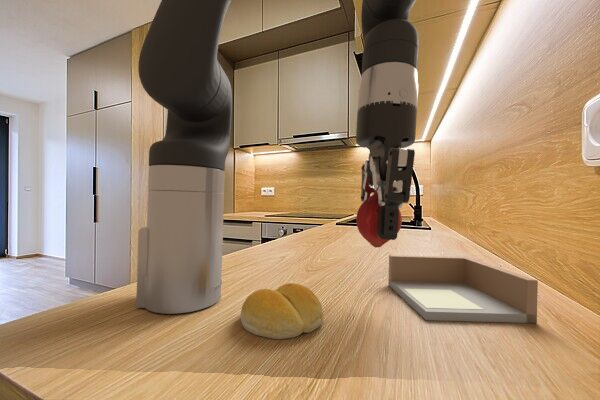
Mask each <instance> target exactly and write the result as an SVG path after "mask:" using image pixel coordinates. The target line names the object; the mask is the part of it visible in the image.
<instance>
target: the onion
mask: <svg viewBox="0 0 600 400" xmlns="http://www.w3.org/2000/svg"><path fill="white" fill-rule="evenodd" d="M379 208H383V207H380V206H379V199H378V192H377V191H375V193H373V195H372V196H370V197H369V198H367V199H366V200H365V201H364V202H362V203H361V205H360V206H359V208H358V210H357V212H356V219H355V220H356V222H355V223H356V227H357V230H358V233H359V234H360V235H361V236H362V238H363V239H365V241H367V242H368V243H369V244H370V245H371V246H372V247H374V248H381V247H382V246H384V245H385V244H387V243H388V242H389V241H390V240H386V239H380V238H379V237H378V236H377V229H378V213H379ZM398 209H399V216H398V233H399V231H400V230H401V228H402V223H403V215H402V211H401V208H398Z"/></svg>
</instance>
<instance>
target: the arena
mask: <svg viewBox="0 0 600 400" xmlns="http://www.w3.org/2000/svg"><path fill="white" fill-rule="evenodd" d="M387 279H388V284H387V285H388V287H390V288H391V289H392V290H393V291H394V292H395V293H397V295H398V296H400V297H401V298H402V299H403V300H404V301H405V302H406V303H407V304H408V305H409V306H410V307H411V308H412V309H414V311H416V312H417V313H418V314H419V315H420V316H421V317H422V319H424V320H425V321H443V322H444V321H445V322H478V323H479V322H480V323H481V322H482V323H512V324H513V323H514V324H517V323H519V324H537V322H538V321H537V320H538V294H539V293H538V285H539V284H538V283H539V282H538V281H539V280H537V279H534V278H532V277H529V276H526V275H522V274H520V273H517V272H513V271H510V270H507V269H505V268H502V267H498V266H495V265H492V264H489V263H487V262H483V261H481V260H477V259H474V258H472V257H468V256H445V255H444V256H441V255H408V254H406V255H404V254H389V255H388V278H387Z"/></svg>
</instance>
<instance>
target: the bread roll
mask: <svg viewBox="0 0 600 400" xmlns="http://www.w3.org/2000/svg"><path fill="white" fill-rule="evenodd" d="M240 310H241V311H240V316H239V317H240V322H241V325H242V326H243V328H244V329H245V330H246V331H247V332H249V333H251V334H253V335H255V336H259V337H264V338H267V339H268V338H269V339H273V340H276V339H277V340H286V339H291V338H296V337H298V336H300V335H301V334H302V333H303V334H304V333H305V334H306V333H312V332H313V331H314V330H316V329H318V328H319V327H320V326H321V325H322V324H323V322H324V319H325V317H324V312H323V307H322V304H321V302H320V299H319V298H318V296H317V295H316V294H315V293H314V291H312V290H311V289H310V288H308V287H307V286H304V285H303V284H298V283H290V282H289V283H284V284H282V285H280V286H279V287H277V288H276V289H268V288H261V289H258V290H255V291H253V292H252V293H251V294H249V295H248V296H247V298H246V299H245V300H244V302H243V304H242V306H241V309H240Z"/></svg>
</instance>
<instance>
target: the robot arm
mask: <svg viewBox="0 0 600 400" xmlns="http://www.w3.org/2000/svg"><path fill="white" fill-rule="evenodd" d="M232 1H233V0H161V1H160V3H159V5H158V7H157V10H156V12H155V14H154V18H153V19H152V21H151V23H150V26H149V28H148V30H147V33H146V35H145V38H144V41H143V43H142V46H141V49H140V53H139V57H138V58H139V59H138V66H137V67H138V68H137V69H138V71H137V72H138V77H139V80H140V83H141V85H142V88H143V89H144V91H145V92H146V93H147V95H148V96H149V97H150V98H151V99H152V100H153V101H155V102H156V103H157V104H158V105H160V106H161V107H163V108H165V109H166V110H167V114H166V126H165V127H166V128H165V135H164V137H163V138H162V140H159V141H155V142H153V143H152V144H151V145H150V147H149V150H148V167H147V168H148V172H147V174H148V176H147V204H146V205H147V206H146V208H147V209H146V226H145V227H141V228H139V230H138V235H137V237H138V239H137V240H138V241H137V243H138V244H137V266H136V267H137V268H136V269H137V270H136V271H137V272H136V299H135V302H136V303H135V308H141V309H146V310H147V311H150V312H152V313H156V314H157V313H158V314H167V315H170V314H171V315H172V314H173V315H174V314H183V313H184V314H186V313H191V312H195V311H200V310H203V309H206V308H208V307H211V306H213V305H215V304H217V303H218V302H219V301H220V299H221V298H222V297H221V296H222V286H223V285H222V284H223V283H222V281H223V280H222V273H223V272H222V271H223V247H224V246H223V240H224V238H223V237H224V211H225V209H224V208H225V207H224V205H225V179H226V178H225V170H226V159H227V156H228V154H229V150H230V145H231V131H232V118H233V117H232V115H233V91H232V90H233V89H232V86H231V85H232V84H231V82H230V79H229V77H228V75H227V73H225V70H224V69H223V67H222V65H221V63H220V62H219V60H218V50H219V42H220V38H221V33H222V30H223V24H224V21H225V18H226V14H227V11H228V9H229V6H230V4H231V2H232ZM415 2H417V0H362V3H361V12H360V13H361V14H360V16H361V17H360V19H361V32H362V40H363V50H362V51H363V52H362V64H361V77H360V78H361V79H360V83H359V84H360V85H359V90H358V96H357V97H358V99H357V100H358V101H357V116H356V128H355V129H356V131H355V143H356V144H357V146H359V147H361V148H365V149H368V150H369V153H368V159H365V162H364V163H363V164H362V166H361V186H360V187H361V188H360V192H361V195H360V201H361V202H362V203H363V202H364V201H365V200H366V199H367V198H369V197H370V196H372V195H373V194H374V193H375V191H377V192H378V199H379V206H380V207H383V208H379V213H378V229H377V236H378V237H379V238H380V239H386V240H389V241H395V240H397V239H398V233H399V232H398V216H399V209H401V208H402V207H403V204H408V203H409V201H410V197H411V187H412V180H413V171H414V165H415V163H414V162H415V155H416V153H415V149H414V148H409V147H411V146H412V145H413V144H414V143H415V141H416V135H417V134H416V131H417V117H418V116H417V114H418V100H419V98H418V97H419V82H418V63H419V62H418V61H419V49H420V47H419V46H420V45H419V42H420V41H419V33H418V29H417V28H416V26H415V25H414V24H413V23H412V22H410V21H409V19H410V13H411V10H412V8H413V7H414V6H415ZM372 193H373V194H372ZM398 208H399V209H398Z"/></svg>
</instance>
